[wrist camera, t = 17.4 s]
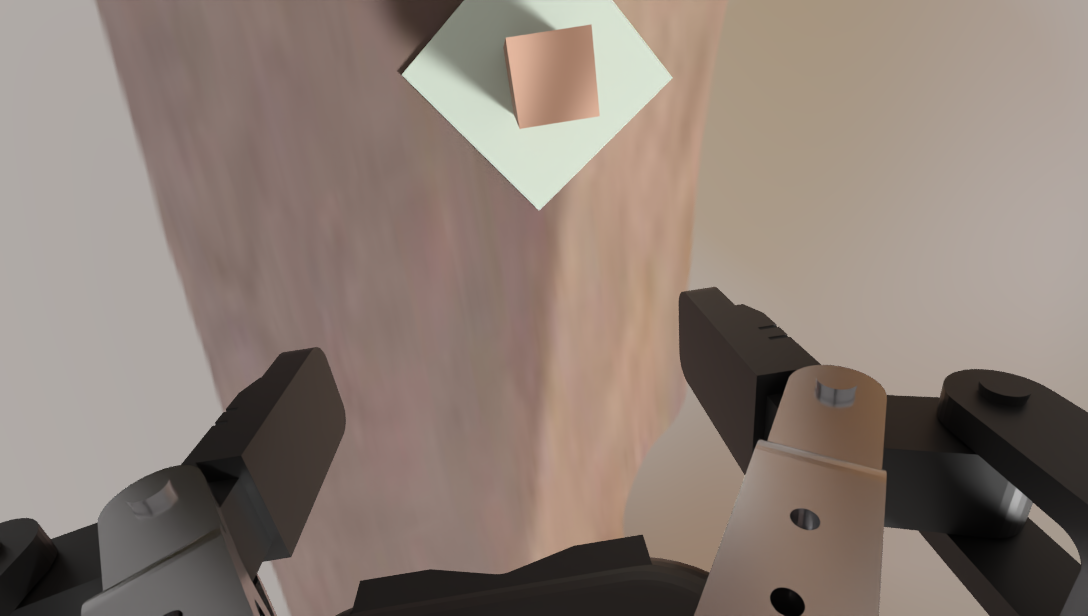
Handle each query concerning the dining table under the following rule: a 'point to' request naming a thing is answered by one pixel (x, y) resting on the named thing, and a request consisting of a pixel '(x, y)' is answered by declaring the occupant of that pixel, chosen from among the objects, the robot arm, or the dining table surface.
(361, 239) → the dining table surface
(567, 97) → the tan recessed-panel box
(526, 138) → the mat
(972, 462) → the robot arm
